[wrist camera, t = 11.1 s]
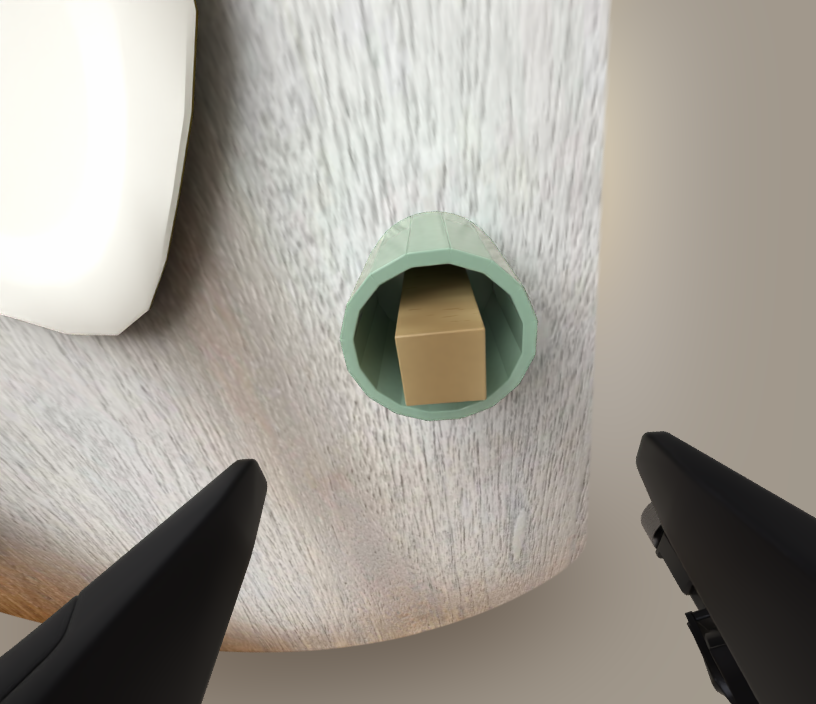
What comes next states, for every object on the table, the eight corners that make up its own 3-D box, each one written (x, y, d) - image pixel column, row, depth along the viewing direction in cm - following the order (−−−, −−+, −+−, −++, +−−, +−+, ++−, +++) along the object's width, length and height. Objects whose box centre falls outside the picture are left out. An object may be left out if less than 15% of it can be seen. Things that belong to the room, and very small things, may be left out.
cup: (500, 202, 17) (543, 237, 11) (499, 333, 20) (532, 414, 14) (355, 220, 17) (319, 263, 11) (379, 344, 21) (361, 426, 15)
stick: (461, 254, 18) (485, 328, 11) (463, 306, 19) (487, 400, 12) (405, 261, 18) (394, 336, 11) (411, 311, 19) (405, 406, 12)
